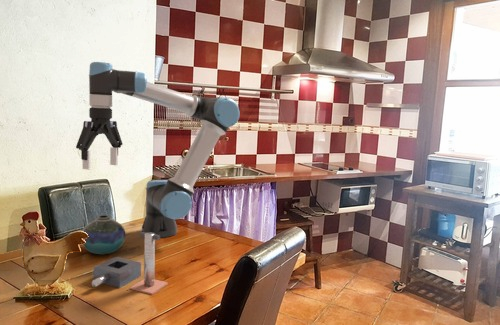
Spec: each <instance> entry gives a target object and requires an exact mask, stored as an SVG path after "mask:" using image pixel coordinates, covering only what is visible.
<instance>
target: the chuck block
mask: <svg viewBox="0 0 500 325" xmlns="http://www.w3.org/2000/svg"><path fill="white" fill-rule="evenodd" d="M139 277H142V262H140V261H137V260H132V259H128V258H124V257H119V256H115V257H113V258H111V259H108V260H106V261H104V262H102V263H99V264H97V265H95V266H94V267H93V280H92V281H91V286H92V287H94V288H96V287H98V286H100V285H102V284H103V285H107V286H110V287H114V288H118V289H121V288H122V287H124V286H126V285H128V284H130V283H132V282H133V281H134V280H136V279H138V278H139Z"/></svg>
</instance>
